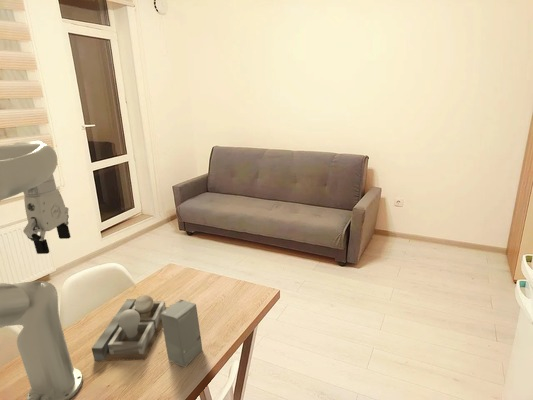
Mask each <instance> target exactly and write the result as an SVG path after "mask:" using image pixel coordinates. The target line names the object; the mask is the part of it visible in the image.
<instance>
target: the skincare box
mask: <svg viewBox="0 0 533 400" xmlns="http://www.w3.org/2000/svg"><path fill="white" fill-rule="evenodd" d="M168 307H169V308H168V309H166V310H165V311H163V312H162V313H161V314H160V315H161V320H162V331H163V335H164V341H165V346H166V354H167V359H168V361H170V362H172V363H175V364H176V365H179V366H181V367H183V368H186V367H187V366H188V365H189V364H190V363H191V361H192V360H193V359H195V358H196V357H197V356H198V355H199V354H200V353H201V351H203V344H202V335H201V330H200V323H199V317H198V309H197V304H196V303H194V302H191V301H187V300H184V299H179V300H177V301H176V302H175V303H174V304H171V305H169V306H168Z"/></svg>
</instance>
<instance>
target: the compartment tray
mask: <svg viewBox="0 0 533 400" xmlns="http://www.w3.org/2000/svg"><path fill="white" fill-rule="evenodd" d="M168 308H169V306H166V301H164V300H160V301H158V300H156V301H154V299H153V297H152V296H151V295H149V294H141V295H139V296H138V297H137V298H128V299H126V300H125V302H124V303H123V304H122V306H121V307H120V308H119V310H118V311H117V312H116V314H115V316H114V317H113V318H112V319H111V321H110V322H109V324H107V327H106V328H105V329H104V331H103V332H102V333H101V335H100V336H99V337H98V338H97V340H96V342H95V343H94V345H93V346H92V347H91V351H92V355H93V360H94V361H98V362H99V361H102V362H103V361H104V362H105V361H146V359H147V357H148V356H149V353H150V351H151V350H152V347H153V346H154V344H155V341H156V339H157V337H158V336H159V333H160V331H161V329H162V328H163V325H162V320H161V315H160V314H161V313H162V312H163V311H165V310H166V309H168ZM128 309H133V310H136V311H137V312H138V313H139V315H140V322H139V325H138V328H137V332H138V333H137V337H138V339H137V340H136V341H131V342H129V339H128V337H127V335H126V332H125V331H124V330H123V329H122V328H121V327H120V326H119V323H118V319H119V316H120V315H121V313H122V312H124V311H125V310H128Z"/></svg>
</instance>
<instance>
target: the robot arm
mask: <svg viewBox="0 0 533 400" xmlns="http://www.w3.org/2000/svg"><path fill="white" fill-rule="evenodd" d="M57 165H58V155H57V153H56V150H55V149H54V148H53V147H52V146H51V145H49V144H46V143H45V142H43V141H41V140H25V141H20V142H19V141H17V142H16V143H13V144H7V145H6V144H4V145H0V202H1V201H3V200H6V199H9V198H12V197H15V196H17V195H19V194H21V193H23V195H24V197H23V198H24V207H25V208H24V210H25V214H26V215H25V216H26V218H27V224H26V225H25V227H24V229H23V230H22V231H23V233H24V234H25V236H26V237H27V239H29V240H30V241H31V242H33V244H34V248H35V252H36V254H37V255H41V254H42V255H45V254H50V248H49V245H48V241H47V239H45V236H46V232H50V231H52V230H54V229H56V231H57V235H58V238H59V239H60V240H64V239H66V240H67V239H70V238H72V237H71V233H70V229H69V225H70V224H69V207H66V205H65V203H64V199H63V196H62V194H61V191H60V190H59V189H58V187H57V185H56V181H55V177H54V173H55V171H56V169H57V167H58V166H57ZM38 233H39V234H38ZM9 326H13V327H14V326H22V329H21V330H20V331H19V333H18V336H17V338H16V347H17V349H18V352H19V355H20V358H21V361H22V364H23V367H24V370H25V373H26V376H27V379H28V383H29V384H30V389H29V391H28V393H27V395H26V400H70V399H71V398H73V397H74V396H75V395H76V394H77V392H78V391H79V390H80V389H81V387H82V385H83V383H84V382H83V381H84V376H83V373H82V372H81V370H79V369H78V368H75V367H74V366H73V363H72V359H71V356H70V352H69V348H68V344H67V341H66V338H65V334H64V330H63V326H62V323H61V319H60V311H59V296H58V290H57V288H56V286H55V285H54V284H52V283H51V282H48V281H43V280H42V281H41V280H40V281H39V280H36V281H35V280H33V281H26V282H17V283H6V282H5V283H3V282H0V329H2V328H4V327H9Z"/></svg>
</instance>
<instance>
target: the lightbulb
mask: <svg viewBox="0 0 533 400" xmlns="http://www.w3.org/2000/svg"><path fill="white" fill-rule="evenodd" d="M139 322H140V315H139V313H138V312H137V311H136V310H133V309H128V310H125V311H124V312H122V313H121V315H120V316H119V319H118V323H119V326H120V327H121V328H122V329H123V330H124V331H125V332H126V335H127V337H128V339H129V342H131V341H136V340H137V339H138V337H137V333H138V332H137V328H138V325H139Z"/></svg>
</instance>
